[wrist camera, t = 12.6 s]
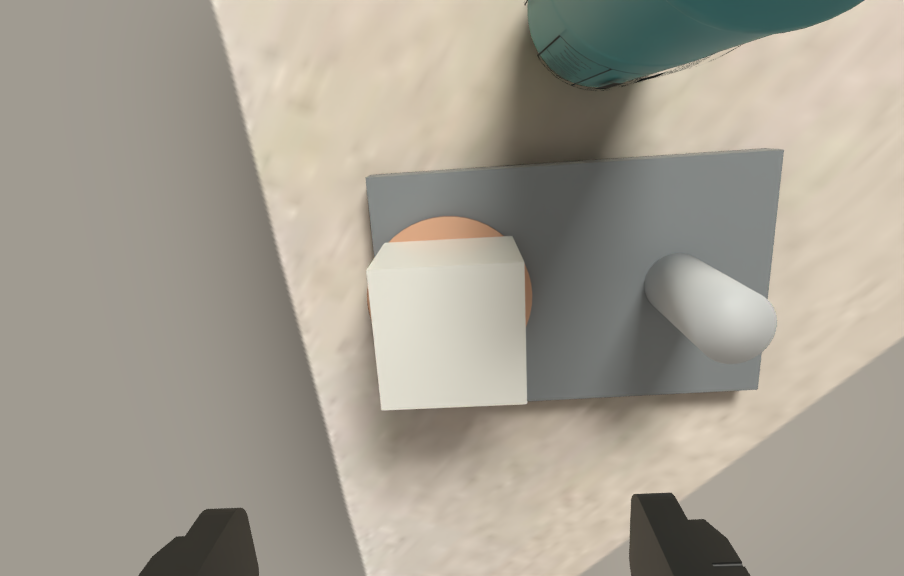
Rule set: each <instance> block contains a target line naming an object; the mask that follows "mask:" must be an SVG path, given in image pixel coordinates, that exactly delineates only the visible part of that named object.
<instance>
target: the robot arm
mask: <svg viewBox="0 0 904 576" xmlns="http://www.w3.org/2000/svg"><path fill="white" fill-rule="evenodd" d="M629 561H630V569H631V576H750V574H749V573H748V571H747V569H746V568H745V567H743V566H742V561H741V560H740V558H739V557H738V555H737V553H736V552H735V550H734V549H733V547H732V545H731V544H730V542H729V541H728V539H727V538H726V537H725V536H724V535H722V534H721V533H720V532H719V531H718V530H716V529H715V528H714V527H713V526H712V525H710V524H709V523H708V522H706V520H704V519H699V520H688V519H687V517H686V516H685V514H684V512H683V510H682V508H681V507H680V505H679V503H678V501H677V499H676V498H675V496H674V495H673V494H672V493H651V494H634V495H633V496H632V499H631V518H630V549H629ZM139 576H259V568H258V562H257V558H256V553H255V548H254V544H253V539H252V535H251V530H250V525H249V521H248V516H247V513H246V511H245V510H244V509H243V508H224V509H206V510H204V511H203V512H202V513H201V514H200V515H199V517H198V518H197V520H196V521H195V522H194V524H193V525H192V527H191V528H190V530H189V531H188V533H187V534H186V536H182V537H176V538H174V539H173V540H172V541H171V542H170V543H168V544H167V545H166V546H165V547H163V548H162V549H161V550H160V551H159V552H157V553H156V554H155V555H154V556H152V558H151V559H150V561H149V562H148V563H147V565H146V566H145V567H144V569H143V570H142V571H141V573H140V574H139Z"/></svg>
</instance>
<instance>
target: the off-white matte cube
mask: <svg viewBox="0 0 904 576" xmlns="http://www.w3.org/2000/svg"><path fill="white" fill-rule="evenodd" d="M366 272H367V282H368V291H369V300H370V309H371V319H372V328H373V337H374V346H375V356H376V365H377V374H378V383H379V392H380V402H381V411H382V410H405V409H428V408H451V407H474V406H498V405H521V404H527V371H526V319H525V268H524V260H523V258H522V256H521V254H520V251H519V249H518V247H517V245H516V243H515V241H514V238H513V236H501V237H482V238H464V239H445V240H426V241H408V242H389V243H384V244H383V246H382V247H381V249H380V250H379V252H378V253H377V255H376V256H375V258H374V259H373V261H372V262H371V264H370V265H369V267H368V268H367V270H366Z"/></svg>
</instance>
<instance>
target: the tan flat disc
mask: <svg viewBox="0 0 904 576" xmlns="http://www.w3.org/2000/svg"><path fill="white" fill-rule="evenodd" d="M501 236H504V235H502V234H501V233H500V232H498V231H497V230H496V229H494V228H492V227H491V226H489V225H487V224H485V223H482V222H480V221H477V220H474V219H470V218H467V217H460V216H439V217H432V218H428V219H425V220H421V221H419V222H417V223H414V224H412V225H410V226H408V227H407V228H405V229H403V230H402V231H401V232H399V233H398V234H397V235H395V236H394V237H393V238H392V239H391V240H390V241H389V242H408V241H426V240H445V239H464V238H482V237H501ZM389 242H388V243H389ZM524 268H525V319H526V325H527V323H528V320H529V317H530V312H531V307H532V286H531V281H530V277H529V273H528V271H527V268H526V265H525V263H524ZM367 303H368V309H369V315H370V318H371V309H370V300H369V291H368V289H367ZM371 321H372V319H371Z"/></svg>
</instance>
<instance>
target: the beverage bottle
mask: <svg viewBox="0 0 904 576" xmlns="http://www.w3.org/2000/svg"><path fill="white" fill-rule="evenodd" d="M527 1H528V24H529V29H530V33H531V37H532V40H533V42H534V45H535V47H536V49H537V51H538V53H539V54H538V56H539V55H540V56H541V57H542V59H543V60H544V62H545V63H546V64H547V65H548V66H549V67H550V68H551V69H552V70H553V71H554V72H555V73H556V74H558V75H559V76H560V78H561V77H562V78H563V79H565V80H567V81H570V82H572V83H574V84H572V85H571V86H573V85H575V84H579V85H582V86H588V87H599V88H594V89H607V88H610V87H615V86H617V85H620V84H626V83H623V82H626V81H630V80H633V79H635V80H638V78H640V79H641V78H644V79H641V80H640V79H639V81H640V82H641V81H643V80H646V79H650V78H654V77H656V78H657V76H659V77H660V75H661V76H662V74H664V73H661V74H658V75H654V76H650V77H649V76H648V75H650V74H653V73H656V72H660V71H663V70H666V69H670V68H673V67H676V66H678V68H679V66H680V65H684V64H687V63H689V64H690V62H693V61H694V62H695V61H696V60H698V61H699V63H700V60H699V59H701V58H704V57H705V58H706V57H707V56H710V55H713V54H715V53H717V52H719V51H723V50H726V49H729V48H732V47H735V46H738V45H740V46H741V44H744V43H747V42H751V41H754V40H757V39H760V38H763V37H766V36H769V35H772V34H778V33H785V32H790V31H795V30H799V29H804V28H807V27H810V26H813V25H816V24H818V23H821V22H824V21H827V20H829V19H832V18H834V17H836V16H838V15H840V14H842V13H844V12H846V11H848V10H850V9H852V8H853V7H855V6H856V5H858V4H859V3H861V2H863V1H864V0H527ZM527 1H526V3H527ZM526 3H524V4H525V5H526ZM738 47H739V46H738ZM735 49H736V48H735ZM733 50H734V49H733ZM731 51H732V50H731ZM728 53H729V52H728ZM726 54H727V53H726ZM724 55H725V54H724ZM722 56H723V55H722ZM538 58H539V57H538ZM708 58H709V57H708ZM702 60H703V59H702ZM713 60H714V59H713ZM540 61H541V60H540ZM711 61H712V60H711ZM709 62H710V61H709ZM697 63H698V62H697ZM542 64H543V63H542ZM691 64H692V63H691ZM543 65H544V64H543ZM547 65H546V66H547ZM695 65H696V63H695ZM686 66H687V65H686ZM693 66H694V63H693ZM549 67H548V68H549ZM680 67H681V66H680ZM691 67H692V66H691ZM695 67H696V66H695ZM550 68H549V69H550ZM684 68H685V67H684ZM551 69H550V70H551ZM682 69H683V68H682ZM682 69H681V68H680V71H681V70H682ZM685 69H686V68H685ZM552 70H551V71H552ZM675 70H676V68H675ZM553 71H552V72H553ZM673 71H674V70H673ZM675 72H677V70H676V71H675ZM673 73H674V72H673ZM669 74H670V72H669ZM553 75H554V74H553ZM558 75H557V76H558ZM646 75H647V76H646ZM665 75H666V74H665ZM554 76H555V75H554ZM559 76H558V77H559ZM643 76H645V77H643ZM555 77H556V76H555ZM562 78H561V79H562ZM636 78H637V79H636ZM558 79H559V78H558ZM561 79H560V80H561ZM639 81H637V82H639ZM563 82H564V81H563ZM637 82H636V81H635V83H637ZM565 83H566V82H565ZM567 84H568V83H567ZM569 85H570V84H569ZM629 85H630V84H629ZM623 86H626V85H623ZM623 86H622V87H623ZM574 87H575V86H574ZM577 88H578V87H577ZM580 89H581V88H580ZM594 89H593V90H592V89H591V91H594ZM585 90H586V89H585ZM608 90H610V89H608ZM603 91H604V90H603Z"/></svg>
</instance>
